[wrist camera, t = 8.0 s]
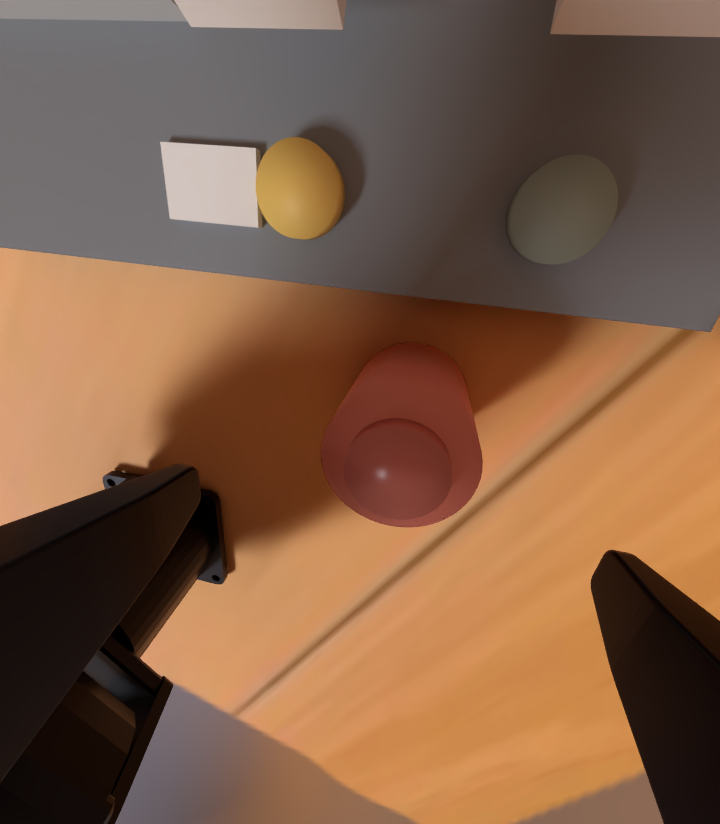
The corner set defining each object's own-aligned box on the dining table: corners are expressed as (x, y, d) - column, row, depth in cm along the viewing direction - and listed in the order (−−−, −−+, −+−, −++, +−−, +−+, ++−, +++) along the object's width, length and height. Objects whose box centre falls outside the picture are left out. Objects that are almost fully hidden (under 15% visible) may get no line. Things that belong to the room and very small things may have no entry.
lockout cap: (454, 453, 15) (464, 556, 10) (352, 435, 15) (312, 524, 10) (478, 351, 13) (506, 414, 8) (361, 335, 13) (317, 384, 8)
